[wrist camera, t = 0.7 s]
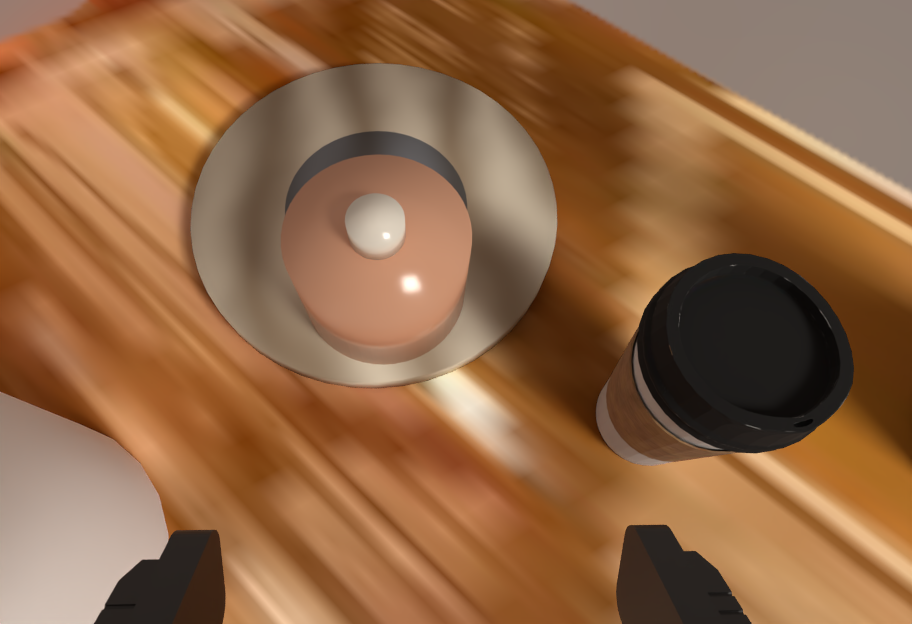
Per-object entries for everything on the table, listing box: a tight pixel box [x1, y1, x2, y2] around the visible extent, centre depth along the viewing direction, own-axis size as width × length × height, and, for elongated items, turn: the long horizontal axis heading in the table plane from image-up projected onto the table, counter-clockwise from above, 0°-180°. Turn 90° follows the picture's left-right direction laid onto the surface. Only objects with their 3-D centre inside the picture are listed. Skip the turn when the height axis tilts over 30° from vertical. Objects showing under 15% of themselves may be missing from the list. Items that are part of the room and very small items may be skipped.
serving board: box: [191, 63, 557, 388], centre depth 43 cm, size 24×24×2 cm
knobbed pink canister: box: [281, 155, 472, 365], centre depth 36 cm, size 10×10×9 cm
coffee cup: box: [596, 253, 854, 466], centre depth 32 cm, size 8×8×15 cm
